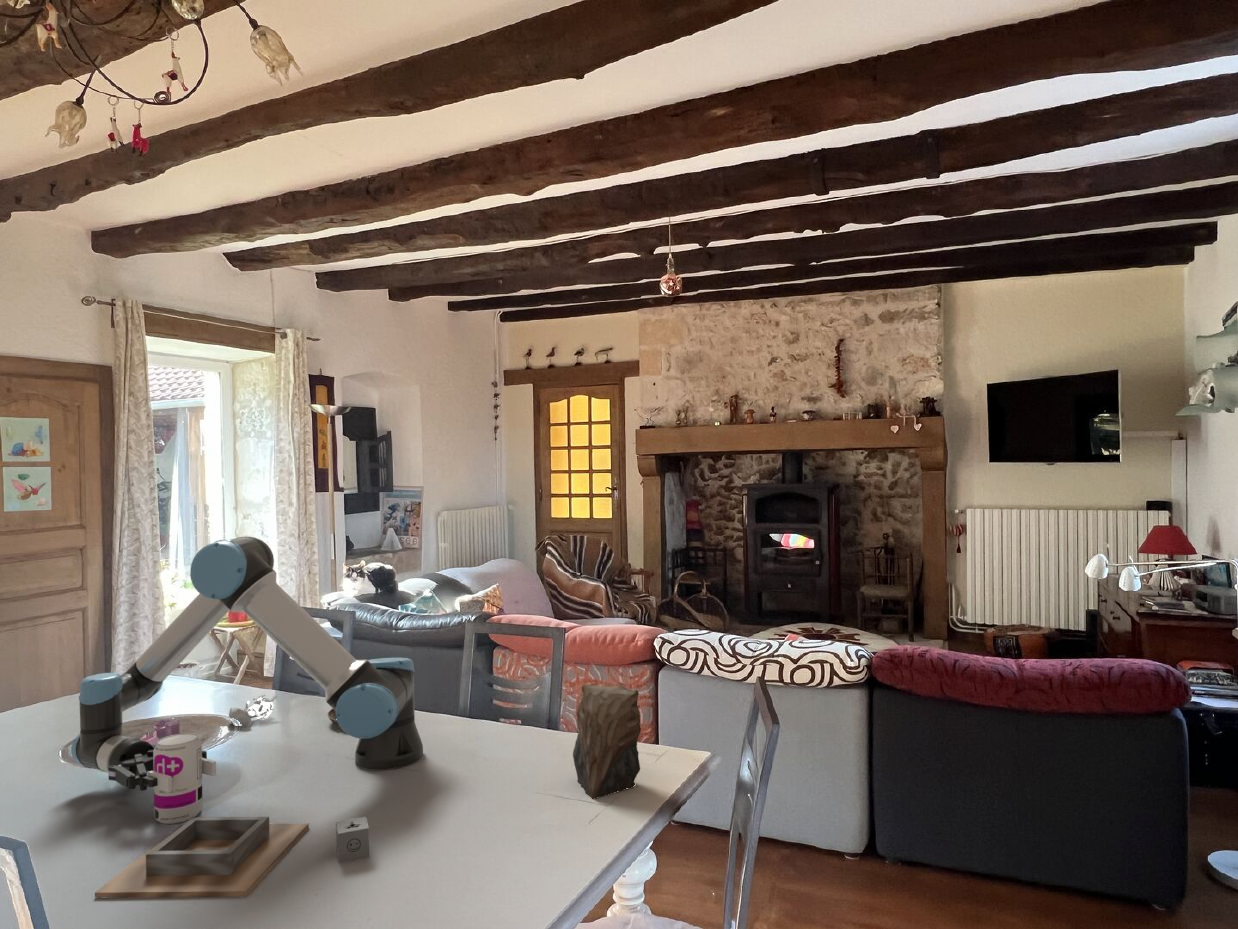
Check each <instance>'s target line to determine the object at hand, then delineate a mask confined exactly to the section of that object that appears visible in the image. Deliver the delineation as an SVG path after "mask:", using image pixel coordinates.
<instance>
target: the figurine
mask: <svg viewBox="0 0 1238 929" xmlns="http://www.w3.org/2000/svg"><path fill="white" fill-rule="evenodd" d="M265 696H266V694H264V695H262V694H261V695H259V696H258V697H257V698H255V697H254V698H253V699H252V700H253V701H254V703H253V705H252V706H251V707H249V705H250V700H247V702H246V703H245V707H244V709H243V708H242V707H230V709H229V714H228V718H229V717H230V718H234V719H236V720H238V721H239V722H240V724H242V726H245V727H244V728H247V727H248V726H249V725H251V724H252V719H253V718H255V719H256V718H257V720H256V721H259V720H260V719H262V720H264V719H263V718H266V719H267V718H268V717H269V716H270V715H271V714H272V713H273V710H274V703H273V702H274V701H275V700H276V699H277V697H278V696H276V695H273V696H272V698H267V697H265Z"/></svg>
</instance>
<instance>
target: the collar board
mask: <svg viewBox="0 0 1238 929" xmlns="http://www.w3.org/2000/svg"><path fill="white" fill-rule="evenodd" d="M309 829H310V823H305V822H304V823H301V822H299V823H270V816H217V817H215V816H214V817H213V816H211V817H210V816H207V817H206V816H205V817H204V816H203V817H202V816H201V817H200V816H199V817H197V816H195V817H194V818H192V819H190V820H187V822H185V823H183V824H181V825H180V826H178V827H177V828H175V829H174V830H173V831H172V832H171V833H170V834H168V835H166V837H164V838H162V840H160V841H159V842H158V843H156V844H155V845H154V846H152V847H151V848H150V849H149V850H147V851H146V852H145V853H144V854H142V855H141V856H139V857H138V858H137V859H136V860H135V861H133V862H132V863H131V864H130V865H128V866H127V867H125V868H123V870H122V871H121V872H119V873H118V874H117V875H115V876H114V877H113V878H112V879H110V880H109V881H108V882H106V883H105V884H104V885H103V886H101V887H100V888H99V889H98V890H96V891H95V892H94V898H95V897H108V898H107V899H110V898H109V897H113V898H112V899H143V898H144V899H148V898H150V899H151V898H152V899H153V898H154V899H155V898H156V899H157V898H226V897H227V898H230V897H231V898H233V897H234V898H235V897H237V898H242V897H243V898H245V897H246V898H247V896H248V895H249V894H250V893H251V892H252V891H253V890H254V889H255V887H257V886H258V884H259V883H260V882H261V881H262V880H263V879H264V878H265V877H266V876H267V874H268V873H269V872H270V871H272V869H273V868H274V867H275V866H276V865H277V864H278V863H279V861H280V860H281V859H282V858H283V857H285V855H286V854H287V853H288V852H289V851H290V850H291V849H292V847H293V846H294V845H295V844H296V843H297V842H298V841H299V840H300V839H301V838H302V836H303V835H304V834H305V833H306V832H307V831H308V830H309ZM114 897H116V898H114ZM117 897H118V898H117ZM119 897H120V898H119ZM124 897H125V898H124ZM129 897H130V898H129Z"/></svg>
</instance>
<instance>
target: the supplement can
mask: <svg viewBox="0 0 1238 929" xmlns="http://www.w3.org/2000/svg"><path fill="white" fill-rule="evenodd" d="M202 744H203V743H202V741H201V739H200V738H199V735H198V734H197V733H194V732H182V733H176V734H171V735H166V736H164V737H161V738H160V739H158V740H157V741H156V744H155V747H153V748H154V750H153V764H154V771H155V772H158V773H162V774H165V775H168V776H172V791H171V792H165V791H162V790H159V789H156V788H153V807H154V808H153V817H154V820H156V821H158V823H159V824H165V825H172V824H178V823H184V822H186V821H187V822H188V821H189V820H190V819H192V818H194V817H197V816H198V815H199V814H200V812H202V810H203V808H204V807H203V806H204V805H203V803H204V802H203V773H202V751H203V745H202Z"/></svg>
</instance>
